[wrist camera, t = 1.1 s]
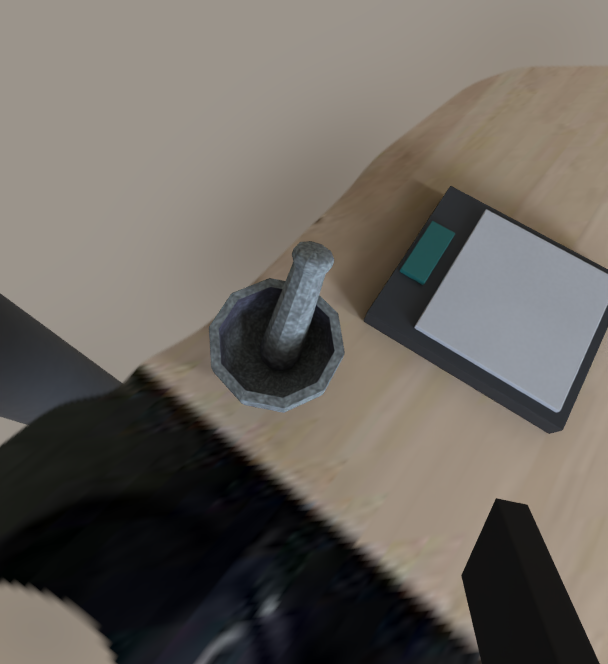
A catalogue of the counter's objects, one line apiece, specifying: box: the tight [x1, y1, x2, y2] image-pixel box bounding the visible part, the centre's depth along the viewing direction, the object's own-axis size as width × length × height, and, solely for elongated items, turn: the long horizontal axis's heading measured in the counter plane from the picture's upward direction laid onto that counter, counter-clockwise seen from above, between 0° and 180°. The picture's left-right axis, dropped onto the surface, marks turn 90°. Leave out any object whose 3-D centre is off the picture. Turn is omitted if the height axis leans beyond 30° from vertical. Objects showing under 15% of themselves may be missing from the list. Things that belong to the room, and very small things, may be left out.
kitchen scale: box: [364, 186, 608, 434], centre depth 41 cm, size 18×16×3 cm
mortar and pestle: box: [209, 241, 345, 412], centre depth 34 cm, size 11×9×12 cm
